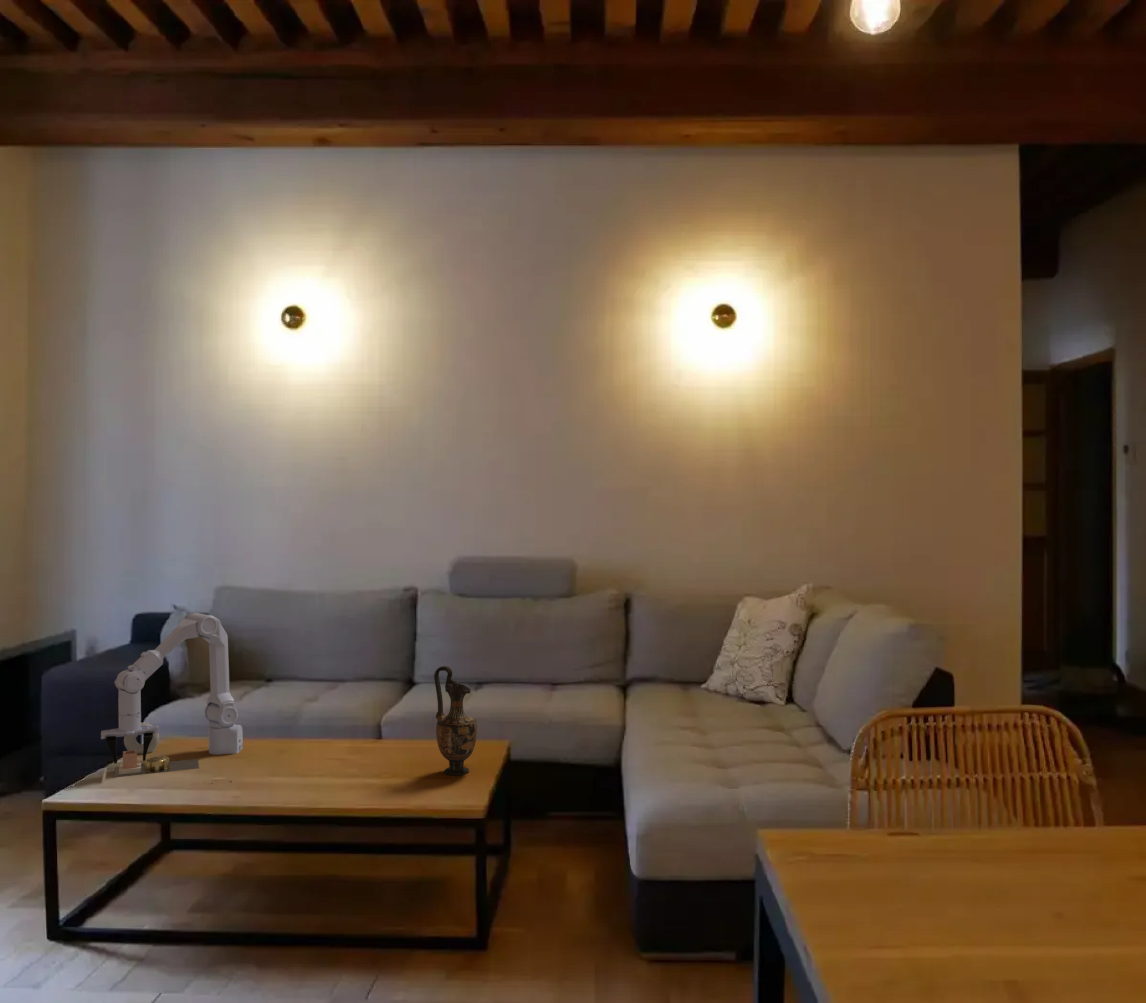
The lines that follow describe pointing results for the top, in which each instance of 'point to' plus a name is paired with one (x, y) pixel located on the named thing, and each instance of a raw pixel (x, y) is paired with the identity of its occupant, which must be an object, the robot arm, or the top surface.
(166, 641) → the robot arm
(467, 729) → the vase
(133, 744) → the donut
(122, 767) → the square sleeve on tile
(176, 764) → the carrier plate
